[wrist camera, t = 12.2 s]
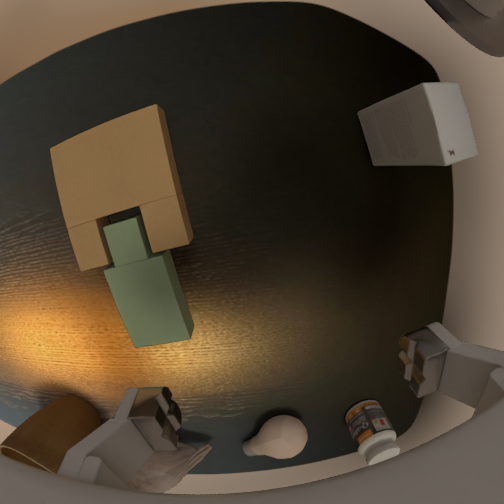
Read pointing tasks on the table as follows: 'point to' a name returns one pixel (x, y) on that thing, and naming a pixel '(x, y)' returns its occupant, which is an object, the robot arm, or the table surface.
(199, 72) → the table surface
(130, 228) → the sage pad
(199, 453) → the bird
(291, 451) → the light bulb
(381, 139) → the cosmetic box
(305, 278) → the table surface
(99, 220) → the sand pad
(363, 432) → the pill bottle
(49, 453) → the plant pot
